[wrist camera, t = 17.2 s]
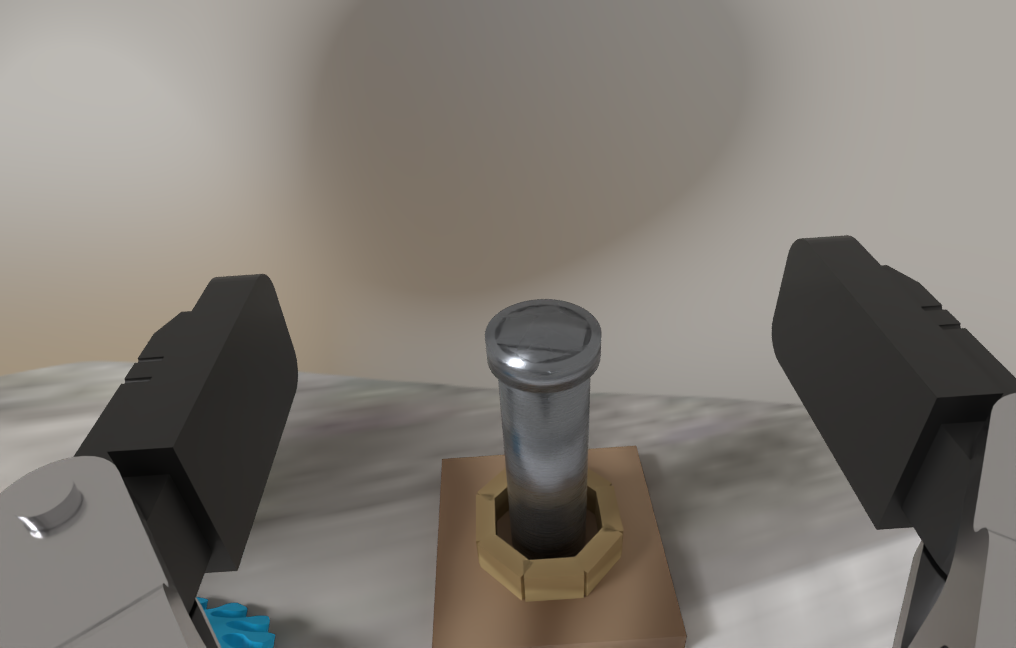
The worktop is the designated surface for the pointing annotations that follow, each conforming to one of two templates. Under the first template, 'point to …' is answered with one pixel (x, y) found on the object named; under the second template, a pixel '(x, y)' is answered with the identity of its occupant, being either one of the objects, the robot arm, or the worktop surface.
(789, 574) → the worktop surface
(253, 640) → the blue irregular figure
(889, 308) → the robot arm
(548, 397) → the pin
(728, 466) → the worktop surface
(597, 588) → the stand
